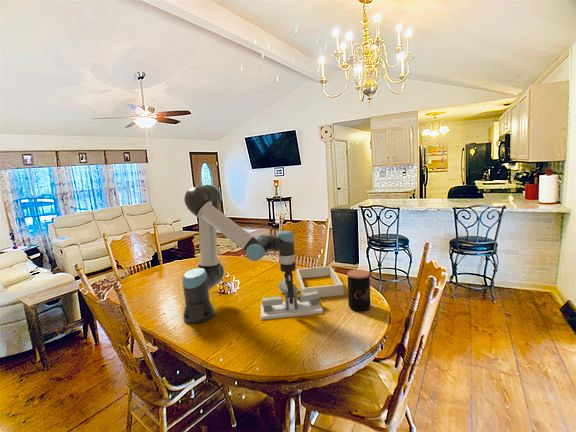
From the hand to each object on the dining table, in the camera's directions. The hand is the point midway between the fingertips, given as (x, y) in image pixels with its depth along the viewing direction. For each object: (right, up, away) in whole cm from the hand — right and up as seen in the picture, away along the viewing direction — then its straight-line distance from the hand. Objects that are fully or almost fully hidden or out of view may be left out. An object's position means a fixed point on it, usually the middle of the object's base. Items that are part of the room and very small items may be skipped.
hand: (290, 303), depth 159 cm
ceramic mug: (0, 0, +22) cm, 22 cm away
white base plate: (0, -4, +1) cm, 4 cm away
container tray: (+17, +2, +29) cm, 33 cm away
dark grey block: (0, -2, 0) cm, 2 cm away
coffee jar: (+34, -2, -2) cm, 34 cm away
